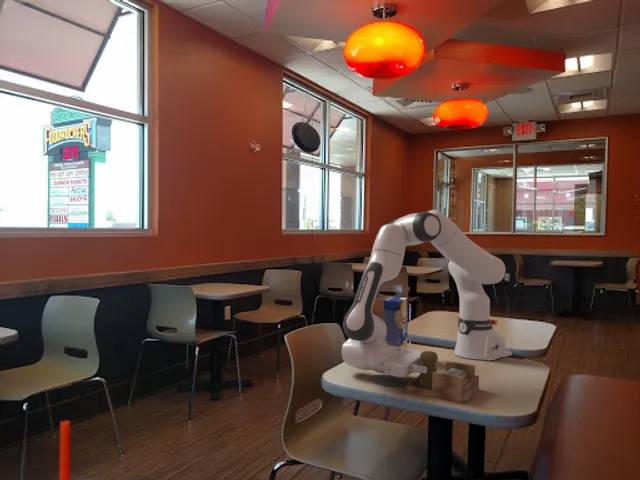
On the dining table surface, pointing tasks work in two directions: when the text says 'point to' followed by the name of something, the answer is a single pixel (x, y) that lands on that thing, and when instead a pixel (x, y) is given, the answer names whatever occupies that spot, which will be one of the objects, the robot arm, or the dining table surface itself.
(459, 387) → the rack
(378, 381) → the coaster
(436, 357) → the cork
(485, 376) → the dining table surface
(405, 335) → the beverage box
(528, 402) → the dining table surface
